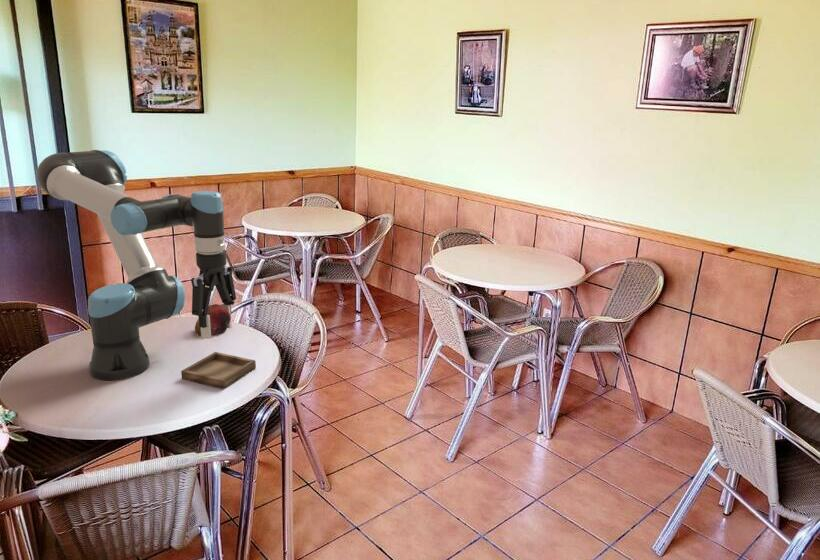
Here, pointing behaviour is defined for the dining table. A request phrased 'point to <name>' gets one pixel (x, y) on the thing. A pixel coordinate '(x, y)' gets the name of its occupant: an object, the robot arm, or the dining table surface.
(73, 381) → the dining table surface
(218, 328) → the fruit
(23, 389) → the dining table surface
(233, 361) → the walnut tray
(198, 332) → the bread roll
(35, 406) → the dining table surface
